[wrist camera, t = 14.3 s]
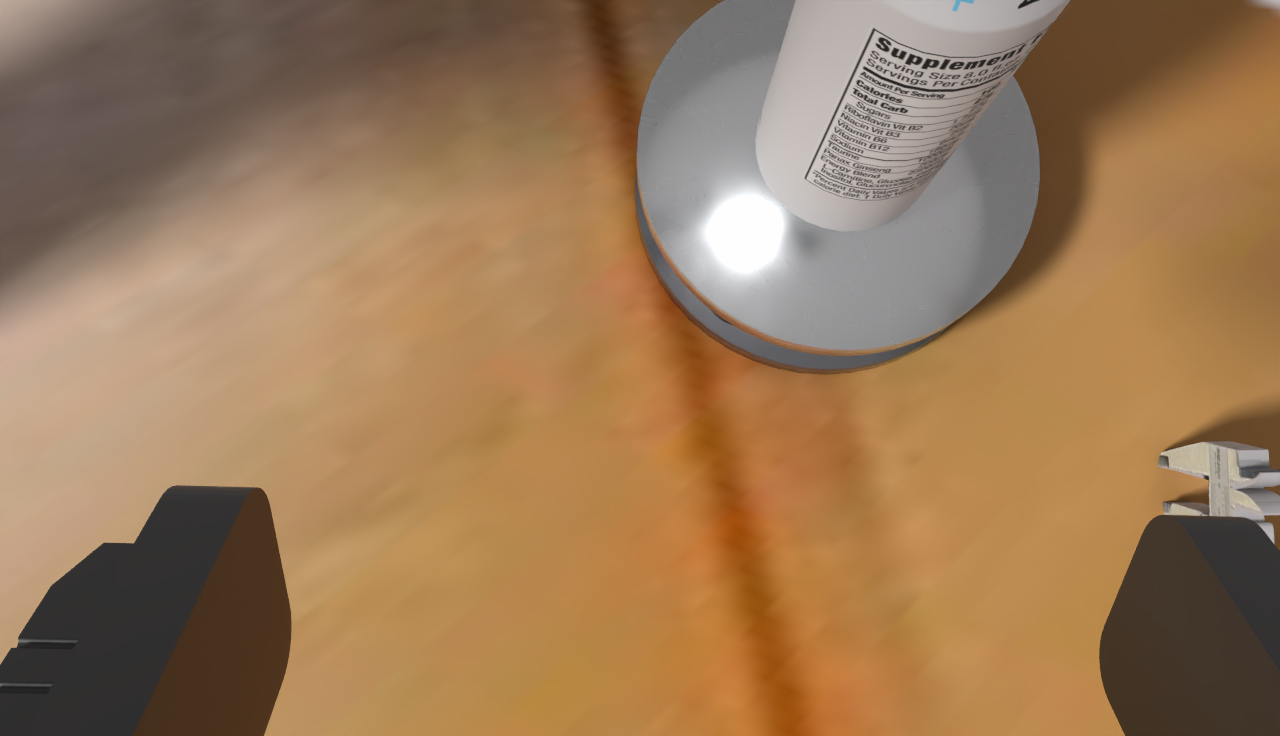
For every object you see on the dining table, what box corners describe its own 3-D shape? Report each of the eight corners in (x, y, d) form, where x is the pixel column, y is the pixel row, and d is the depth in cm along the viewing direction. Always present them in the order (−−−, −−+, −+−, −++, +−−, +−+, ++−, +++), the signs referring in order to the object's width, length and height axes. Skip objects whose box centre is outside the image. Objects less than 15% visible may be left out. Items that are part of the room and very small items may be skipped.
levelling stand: (611, 348, 38) (611, 320, 34) (659, 9, 41) (663, -52, 37) (988, 397, 38) (1030, 374, 34) (1007, 54, 41) (1048, -2, 37)
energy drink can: (908, 71, 37) (1105, -280, 22) (939, 231, 35) (1169, -26, 21) (740, 87, 36) (825, -256, 22) (765, 250, 35) (873, 2, 20)
